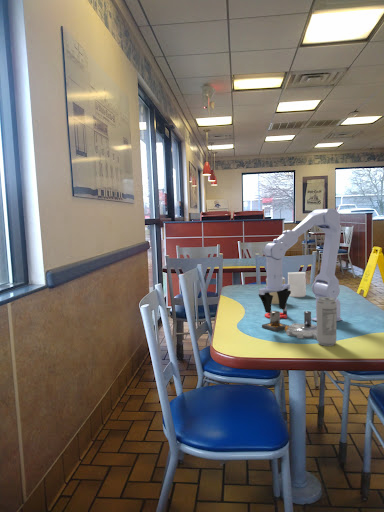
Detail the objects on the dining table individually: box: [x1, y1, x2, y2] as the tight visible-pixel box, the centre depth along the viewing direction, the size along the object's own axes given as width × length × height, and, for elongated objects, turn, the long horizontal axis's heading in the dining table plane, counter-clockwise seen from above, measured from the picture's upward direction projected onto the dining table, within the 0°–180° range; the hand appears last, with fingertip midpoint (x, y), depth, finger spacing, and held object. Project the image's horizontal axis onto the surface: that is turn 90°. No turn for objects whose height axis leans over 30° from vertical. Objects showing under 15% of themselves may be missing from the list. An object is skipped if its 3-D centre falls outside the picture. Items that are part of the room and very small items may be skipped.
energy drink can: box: [316, 297, 338, 347], centre depth 120 cm, size 6×6×15 cm
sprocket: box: [284, 310, 317, 340], centre depth 132 cm, size 14×14×6 cm
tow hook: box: [264, 306, 288, 320], centre depth 155 cm, size 8×13×9 cm
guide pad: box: [261, 322, 290, 332], centre depth 140 cm, size 7×7×1 cm
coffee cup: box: [265, 276, 286, 305], centre depth 180 cm, size 9×9×12 cm
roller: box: [269, 310, 281, 326], centre depth 139 cm, size 4×4×5 cm
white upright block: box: [287, 271, 307, 298], centre depth 195 cm, size 9×9×12 cm
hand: (275, 310), depth 139 cm, fingers open, 7 cm apart
